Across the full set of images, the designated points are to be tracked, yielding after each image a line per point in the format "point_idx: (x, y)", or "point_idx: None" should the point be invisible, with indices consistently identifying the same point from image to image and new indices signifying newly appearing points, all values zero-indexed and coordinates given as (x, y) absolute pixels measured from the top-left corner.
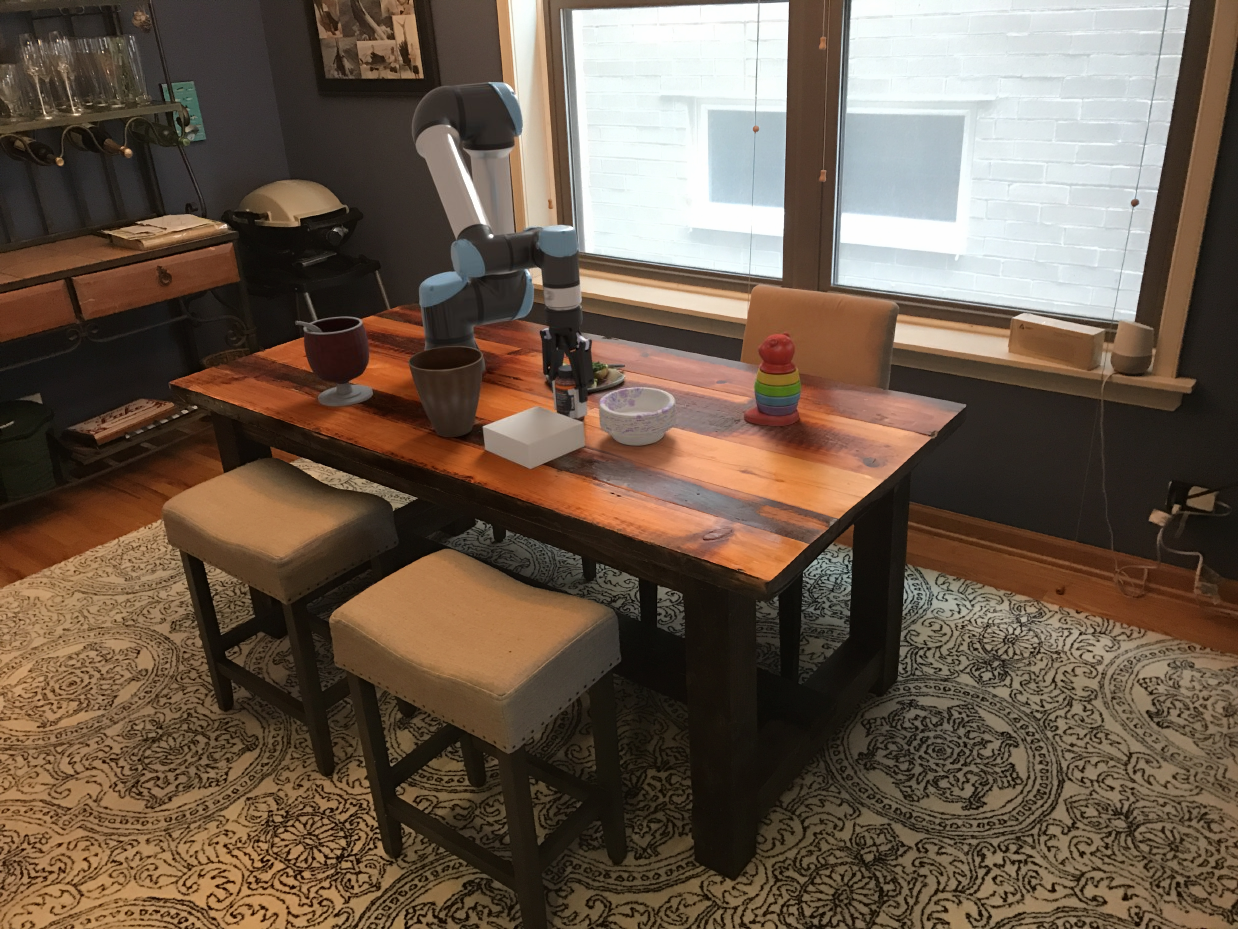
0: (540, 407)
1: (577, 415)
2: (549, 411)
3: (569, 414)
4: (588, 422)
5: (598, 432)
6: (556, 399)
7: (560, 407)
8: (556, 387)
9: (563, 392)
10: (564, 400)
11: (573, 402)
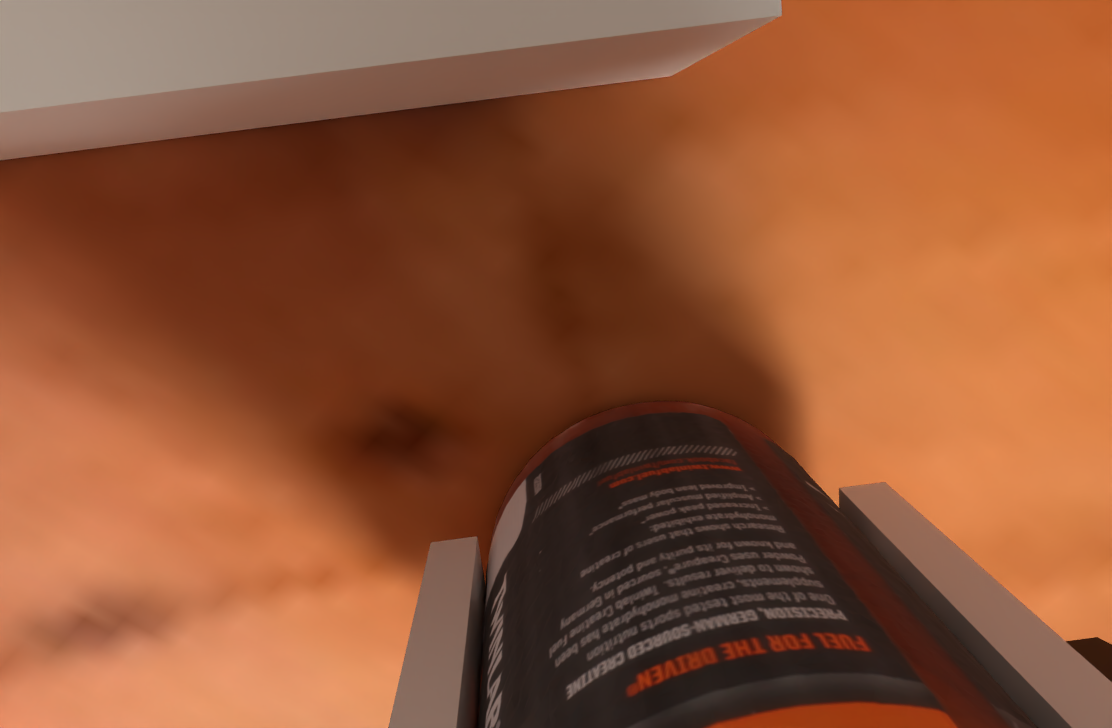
0: (650, 13)
1: (431, 561)
2: (286, 20)
3: (526, 501)
4: (412, 610)
5: (78, 537)
6: (807, 531)
7: (655, 475)
8: (883, 705)
9: (618, 692)
10: (589, 582)
11: (491, 668)
